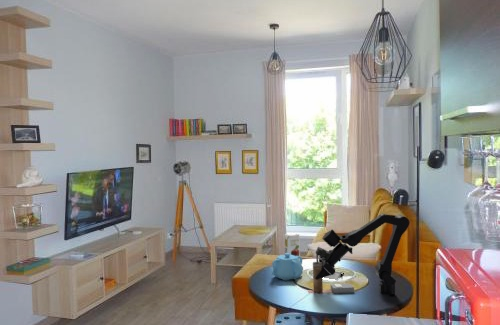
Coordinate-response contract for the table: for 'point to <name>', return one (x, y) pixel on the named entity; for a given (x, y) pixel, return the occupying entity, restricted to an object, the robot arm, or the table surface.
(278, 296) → the table surface
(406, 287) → the table surface
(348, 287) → the block
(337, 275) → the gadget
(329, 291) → the plywood panel
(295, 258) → the decorative pot
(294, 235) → the juice carton
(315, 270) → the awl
